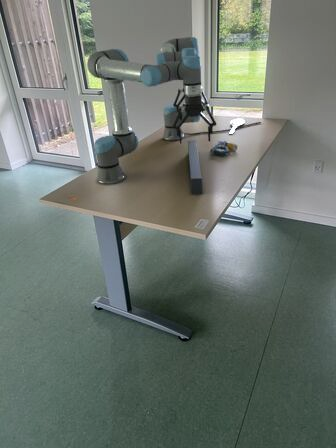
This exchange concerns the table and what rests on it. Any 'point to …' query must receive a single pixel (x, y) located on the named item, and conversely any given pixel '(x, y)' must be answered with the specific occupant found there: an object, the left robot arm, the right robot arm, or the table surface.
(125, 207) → the table surface
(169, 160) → the table surface
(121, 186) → the table surface
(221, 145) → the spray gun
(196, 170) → the bar
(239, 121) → the spoon
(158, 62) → the right robot arm
